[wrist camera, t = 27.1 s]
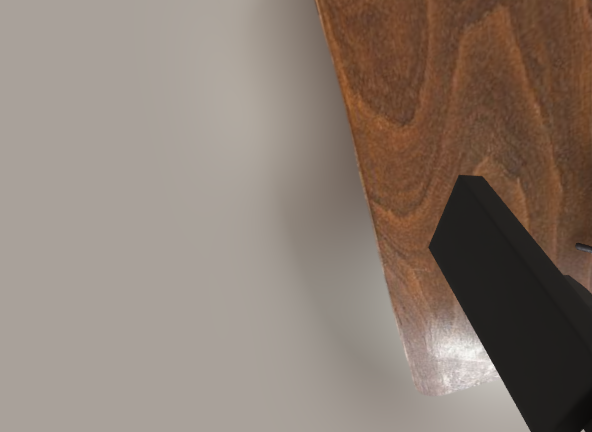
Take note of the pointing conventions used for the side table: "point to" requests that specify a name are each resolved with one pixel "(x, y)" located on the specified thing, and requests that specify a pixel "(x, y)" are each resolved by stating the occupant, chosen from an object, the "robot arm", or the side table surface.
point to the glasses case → (584, 247)
